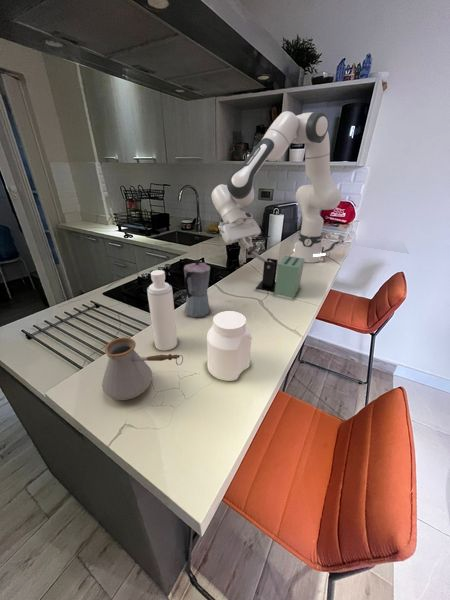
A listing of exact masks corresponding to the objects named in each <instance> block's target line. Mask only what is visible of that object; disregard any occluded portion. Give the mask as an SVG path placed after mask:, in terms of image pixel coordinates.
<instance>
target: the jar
mask: <svg viewBox="0 0 450 600" xmlns="http://www.w3.org/2000/svg"><path fill="white" fill-rule="evenodd" d="M252 339H253V336H252V333H251V331H250V329H249V328H248V327H247V318H246V316H245V315H243V314H242V313H241V312H238V311H234V310H225V311H220V312H218V313H216V314H215V315H214V316H213V318H212V326H211V327H210V328H209V329H208V332H207V333H206V347H207V348H206V349H207V351H206V352H207V364H206V365H207V370H208V372H209V373H210V374H211V376H213V377H214V378H216V379H218V380H221V381H226V382H233V381H236V380H238V379H239V377H240V375H241V374H242V373H243V372H244V371H245V370H247V369H248V368H249V367H250V364H251V362H250V361H251V350H252V349H251V348H252V347H251V346H252Z"/></svg>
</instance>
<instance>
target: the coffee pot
mask: <svg viewBox="0 0 450 600" xmlns="http://www.w3.org/2000/svg"><path fill="white" fill-rule="evenodd" d="M136 346H137V345H136V341H135V340H134V338H131V337H119V338H114V339H112V340H111V341H110V342H108V343H107V344H106V345H105V346H104V347H105V348H104V353H105V354H106V356H107V357H108V360H107V364H106V368H105V371H104V374H103V379H102V382H101V388H102V391H103V392H104V394H105V395H106V396H108V397H109V398H111V399H112V400H115V401H116V400H117V401H128V400H132V399H134V398H137V397H138V396H140V395H141V394H143V393H145V391H146V390H147V389H148V388H149V386H150V384H151V383H152V379H153V371H152V369H151V367H150V366H149V365H148V364H147V362H146V361H148V362H162V361H167V360H169V361H172V360H175V364H176V365H177V366H181V365H182V364H183V363H184V356H183V355H182V354H172V353H169V354H156V355H150V356H140V354H138V352H136V350H135V348H136ZM180 357H181V363H178V359H180Z"/></svg>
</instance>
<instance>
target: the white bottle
mask: <svg viewBox="0 0 450 600" xmlns="http://www.w3.org/2000/svg"><path fill="white" fill-rule="evenodd" d="M150 278H151V282H152V283H151V284H150V285H149V286H148V287H147V288H146V293H147V301H148V308H149V313H150V314H149V315H150V319H151V326H152V327H151V328H152V333H153V334H152V335H153V340H154V341H153V342H154V346H155V347H156V349H157V350H159V351H170V350H172V349H175V348H176V347H177V345H178V334H177V323H176V312H175V303H174V293H173V286H172V285H171V284H169V283H168V282H166V281H165V280H166V272H165V270H162V269H156V270H155V269H154V270H153V271H151V272H150Z"/></svg>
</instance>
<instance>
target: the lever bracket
mask: <svg viewBox="0 0 450 600" xmlns="http://www.w3.org/2000/svg"><path fill="white" fill-rule="evenodd" d="M266 260H267V261H264V262H263V271H262V280H261V282H259V284H258V285H257V286H256V287H255V289H256V290H260V291H264V292H269V293H273V294H275V285H276V277H277V269H278V263H279V262H278V261H279V260H278V259H275V258H269V257H268V258H266ZM270 260H271V261H272V262H268V261H270Z"/></svg>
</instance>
